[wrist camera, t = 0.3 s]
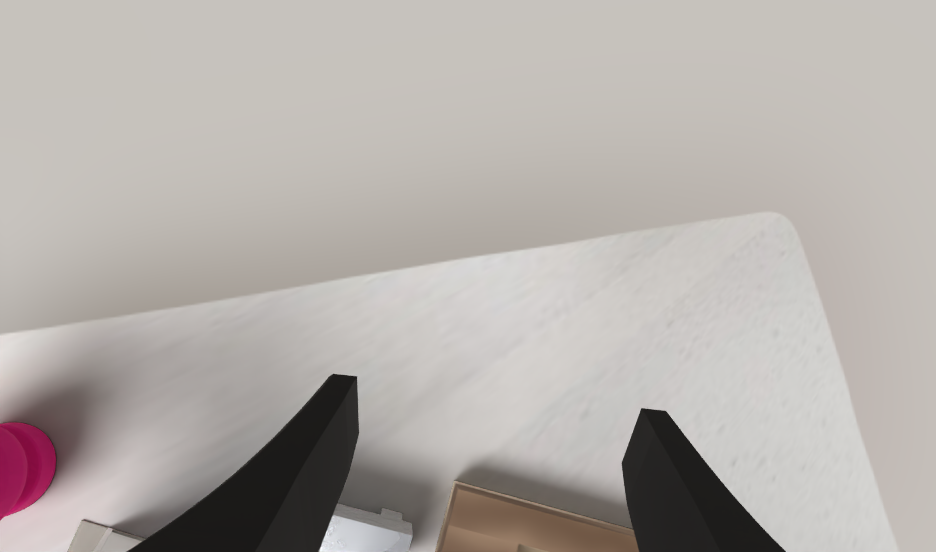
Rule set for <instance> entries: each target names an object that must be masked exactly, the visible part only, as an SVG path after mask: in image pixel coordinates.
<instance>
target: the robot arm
mask: <svg viewBox="0 0 936 552" xmlns="http://www.w3.org/2000/svg"><path fill="white" fill-rule="evenodd" d="M358 435H359V422H358V392H357V377H356V376H347V375H338V374H332V375H331V376H330V377H328V379H327V380H326V381H325V382H324V384H323V385H322V386H321V387H320V388H319V389H318V391H317V392H316V393H315V394H314V395H313V396H312V397H311V399H310V400H309V401H308V402H307V403H306V404H305V405H304V406H303V407H302V409H301V410H300V411H299V412H298V413H297V414H296V415H295V416H294V417H293V418H292V419H291V420H290V421H289V422H288V423H287V424H286V425H285V426H284V427H283V429H282V430H281V431H280V432H279V433H278V434H277V435H276V436H275V437H274V438H273V439H272V440H271V441H270V442H268V443H267V444H266V445H265V446H264V447H263V448H262V449H261V450H260V451H259V452H258V453H257V454H256V455H255V456H254V457H252V458H251V459H250V460H249V461H248V462H247V463H246V464H245V465H244V466H243V467H241V468H240V469H239V470H238V471H237V472H236V473H235V474H233V475H232V476H231V477H230V478H229V479H227V480H226V481H225V482H224V483H223V484H221V485H220V486H219V487H218V488H216V489H215V490H214V491H213V492H211V493H210V494H209V495H208V496H206V497H205V498H204V499H202V500H201V501H200V502H198V503H197V504H196V505H194V506H193V507H192V508H190V509H189V510H188V511H186V512H185V513H184V514H182V515H181V516H179V517H178V518H177V519H175V520H174V521H172V522H171V523H169V524H168V525H167V526H165V527H164V528H162V529H161V530H159V531H158V532H156V533H154V534H153V535H151V536H150V537H148V538H147V539H145V540H144V541H142V542H141V543H139V544H137V545H136V546H134V547H133V548H131V549H130V550H128V551H127V552H319V550H320V548H321V545H322V542H323V540H324V537H325V534H326V532H327V529H328V526H329V524H330V521H331V519H332V516H333V513H334V511H335V508H336V505H337V503H338V500H339V498H340V495H341V492H342V490H343V487H344V484H345V482H346V479H347V476H348V473H349V470H350V466H351V463H352V459H353V455H354V451H355V447H356V443H357V439H358ZM622 470H623V478H624V486H625V493H626V500H627V506H628V510H629V514H630V518H631V522H632V526H633V530H634V534H635V538H636V542H637V545H638V549H639V552H786V551H785V550H784V549H783V548H782V547H781V546H780V545H779V544H778V543H777V542H776V541H774V540H773V539H772V537H771V536H770V535H769V534H768V533H767V532H766V531H765V530H764V529H763V528H762V527H761V526H760V525H759V524H758V523H757V522H756V521H755V519H754V518H753V517H752V516H751V515H750V514H749V513H748V512H747V511H746V509H745V508H744V507H743V506H742V505H741V504H740V503H739V502H738V501H737V499H736V498H735V497H734V496H733V495H732V494H731V492H730V491H729V490H728V489H727V488H726V487H725V485H724V484H723V483H722V482H721V481H720V479H719V478H718V477H717V476H716V474H715V473H714V472H713V471H712V470H711V468H710V467H709V466H708V465H707V463H706V462H705V461H704V460H703V458H702V457H701V456H700V454H699V453H698V452H697V451H696V449H695V448H694V447H693V445H692V444H691V443H690V442H689V440H688V439H687V438H686V436H685V435H684V434H683V433H682V431H681V430H680V429H679V427H678V426H677V425H676V423H675V422H674V421H673V420H672V418H671V417H670V416H669V414H668V413H667V412H666V411H661V410H652V409H643V408H641V411H640V414H639V417H638V419H637V422H636V425H635V428H634V430H633V433H632V436H631V439H630V442H629V444H628V447H627V450H626V453H625V455H624V458H623V461H622Z"/></svg>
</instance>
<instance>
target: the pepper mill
mask: <svg viewBox="0 0 936 552" xmlns="http://www.w3.org/2000/svg"><path fill="white" fill-rule="evenodd" d="M55 467H56V455H55V450H54V447H53V445H52V443H51V441H50V439H49V438H48V436H47V435H45V434H44V433H43V432H42V431H41V430H40V429H38V428H36V427H34V426H31V425H28V424H25V423H3V424H0V520H1V519H2V518H3V517H5V516H8V515H10V514H13V513H16V512H18V511H21V510H23V509H25V508H27V507H28V506H30V505H31V504H33V503H34V502H35V501H36V500H38V499H39V498H40V497H41V496H42V495H43V493H44V492H45V491H46V489H47V488H48V486H49V485H50V483H51V481H52V478H53V476H54V473H55Z"/></svg>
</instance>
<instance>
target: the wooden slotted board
mask: <svg viewBox="0 0 936 552" xmlns="http://www.w3.org/2000/svg"><path fill="white" fill-rule="evenodd" d="M435 552H639V549H638V545H637V542H636V538H635V534H634V530H633V529H630V528H626V527H622V526H619V525H615V524H611V523H608V522H604V521H600V520H597V519H593V518H589V517H586V516H582V515H578V514H575V513H571V512H567V511H564V510H560V509H556V508H553V507H549V506H545V505H542V504H538V503H534V502H531V501H527V500H523V499H520V498H516V497H512V496H509V495H505V494H501V493H498V492H494V491H490V490H487V489H483V488H479V487H476V486H472V485H468V484H465V483H461V482H457V481H454V483H453V486H452V490H451V494H450V498H449V501H448V505H447V509H446V512H445V516H444V520H443V524H442V527H441V531H440V535H439V539H438V542H437V546H436V550H435Z"/></svg>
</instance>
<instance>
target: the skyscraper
mask: <svg viewBox="0 0 936 552" xmlns="http://www.w3.org/2000/svg"><path fill="white" fill-rule="evenodd" d="M144 540H145V538H142V537H138V536H135V535H132V534H128V533H125V532H122V531H118V530H115V529H112V528H109V527H105V526H101V525H98V524H95V523H91V522H88V521H85V520H82V521H81V523H80V525H79V527H78V529H77V532H76V534H75V536H74V538H73V540H72V542H71V545H70V547H69V549H68V551H67V552H127V551H128V550H130V549H131V548H133V547H134V546H136V545H137V544H139V543H141V542H142V541H144Z"/></svg>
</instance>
